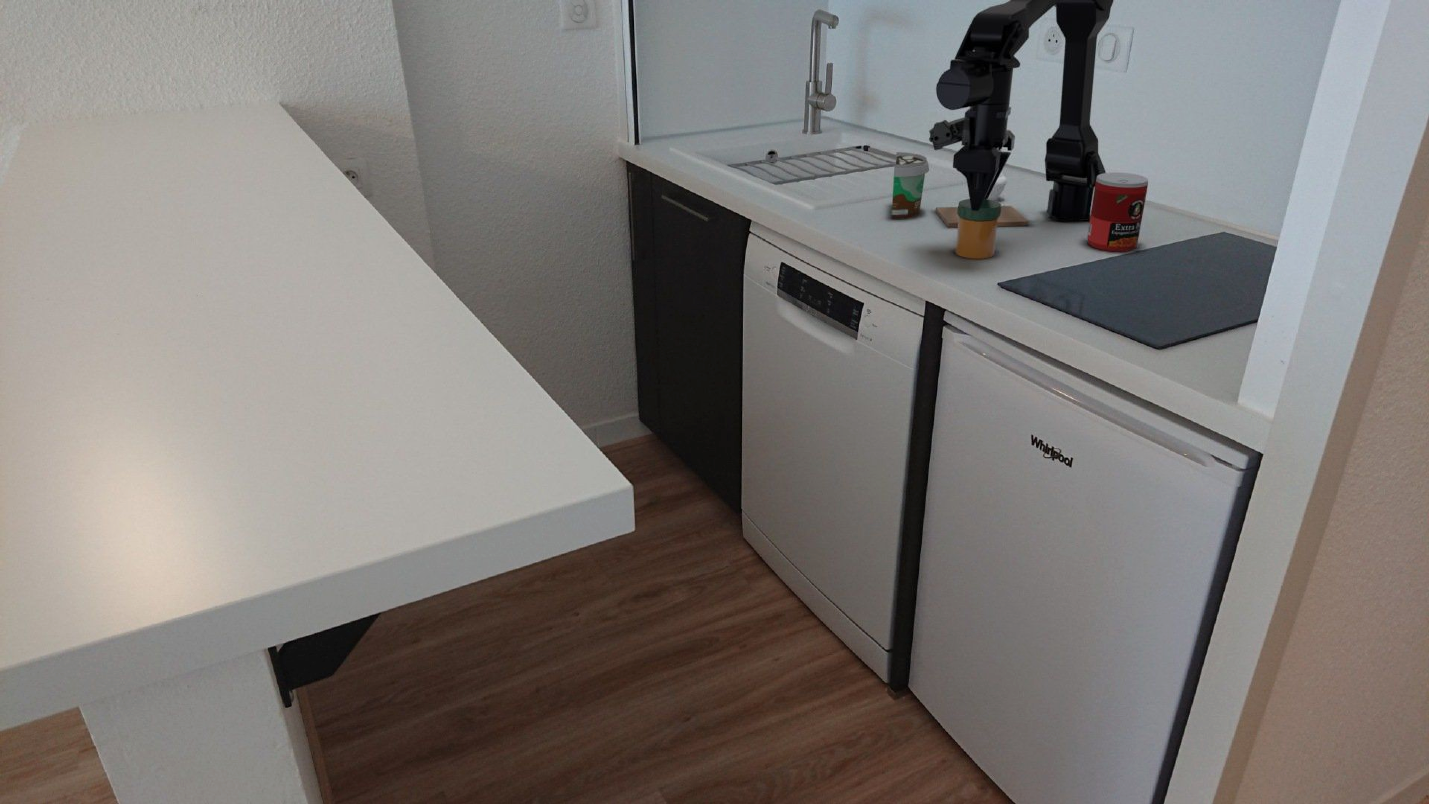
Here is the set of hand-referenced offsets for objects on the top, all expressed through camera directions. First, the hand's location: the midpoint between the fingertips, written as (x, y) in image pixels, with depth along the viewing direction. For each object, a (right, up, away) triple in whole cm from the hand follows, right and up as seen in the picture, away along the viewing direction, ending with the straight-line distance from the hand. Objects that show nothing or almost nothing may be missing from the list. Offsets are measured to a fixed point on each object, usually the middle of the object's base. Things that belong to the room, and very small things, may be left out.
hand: (979, 204), depth 150 cm
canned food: (+23, -6, +6) cm, 25 cm away
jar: (0, -7, +3) cm, 8 cm away
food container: (-6, +4, +27) cm, 28 cm away
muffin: (+11, +8, +35) cm, 38 cm away
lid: (0, 0, 0) cm, 0 cm away
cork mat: (+6, +2, +22) cm, 23 cm away
